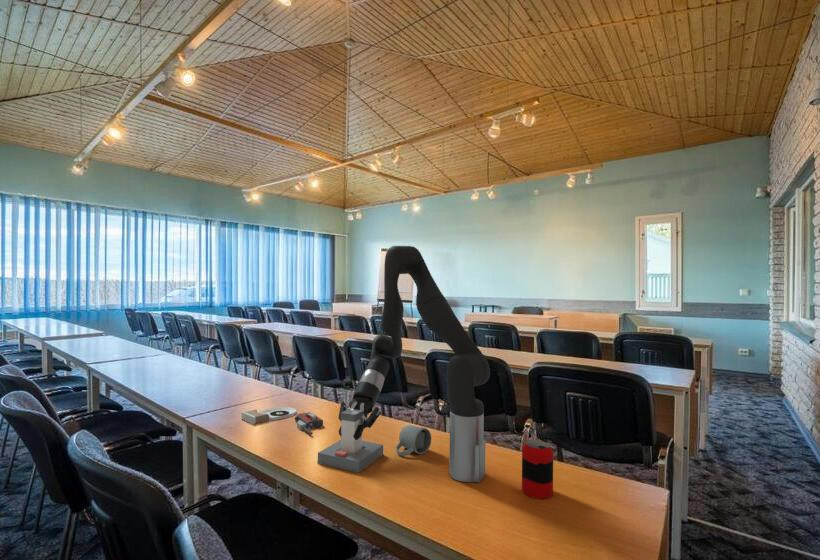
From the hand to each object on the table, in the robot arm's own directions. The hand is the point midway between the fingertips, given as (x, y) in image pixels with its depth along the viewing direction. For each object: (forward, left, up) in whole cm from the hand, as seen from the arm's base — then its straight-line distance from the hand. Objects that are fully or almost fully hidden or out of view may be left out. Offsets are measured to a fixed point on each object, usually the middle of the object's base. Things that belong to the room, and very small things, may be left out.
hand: (348, 436), depth 122 cm
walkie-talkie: (+29, -19, -8) cm, 36 cm away
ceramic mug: (-14, -15, -7) cm, 22 cm away
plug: (0, -2, -6) cm, 6 cm away
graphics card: (+50, -22, -8) cm, 55 cm away
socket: (0, -2, -7) cm, 7 cm away
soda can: (-53, -6, -7) cm, 54 cm away
